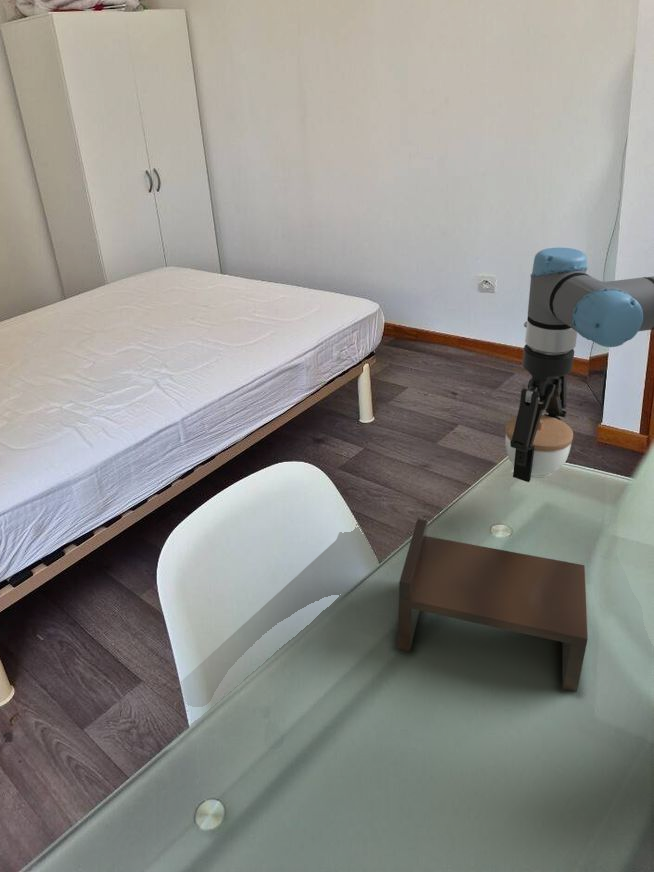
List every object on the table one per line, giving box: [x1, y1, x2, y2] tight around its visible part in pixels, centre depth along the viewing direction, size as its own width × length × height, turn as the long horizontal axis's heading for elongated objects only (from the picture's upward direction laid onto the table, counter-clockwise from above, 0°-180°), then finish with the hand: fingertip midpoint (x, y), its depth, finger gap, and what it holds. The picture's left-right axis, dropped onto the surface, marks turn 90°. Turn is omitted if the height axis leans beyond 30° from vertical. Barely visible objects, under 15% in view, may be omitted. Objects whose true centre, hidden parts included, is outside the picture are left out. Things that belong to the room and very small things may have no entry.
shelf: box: [396, 518, 589, 693], centre depth 98 cm, size 24×14×13 cm, turn 70°
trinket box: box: [504, 414, 574, 479], centre depth 117 cm, size 11×11×9 cm
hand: (534, 463), depth 118 cm, fingers closed on trinket box, 11 cm apart
